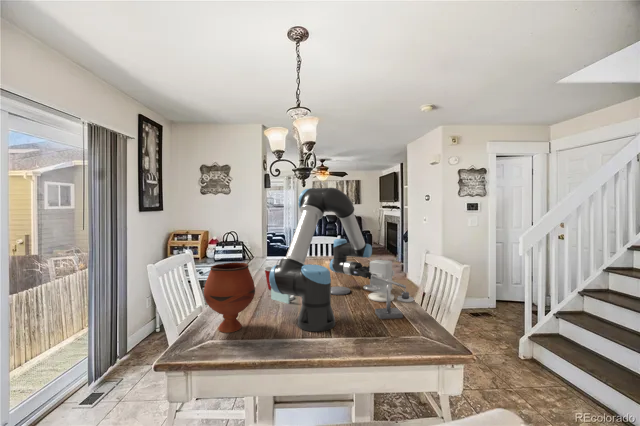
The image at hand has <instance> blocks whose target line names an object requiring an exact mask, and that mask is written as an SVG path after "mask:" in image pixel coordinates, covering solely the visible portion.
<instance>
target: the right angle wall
mask: <svg viewBox="0 0 640 426" xmlns="http://www.w3.org/2000/svg"><path fill="white" fill-rule="evenodd" d="M270 293H271V294H270V298H271V300H273V301H277V302H280V303H285V304H288V305H289V304H290V301H294V300H295V296H294V295H287V294H281V293H277V292H275V291H273V290H272V288H271V290H270Z"/></svg>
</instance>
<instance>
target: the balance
mask: <svg viewBox="0 0 640 426" xmlns="http://www.w3.org/2000/svg"><path fill="white" fill-rule="evenodd" d="M372 277H373V278H376V279H379V280H382V281H385V282H386V302H385V303H386V307H383V308H375V309H374V313H375V315H376V316H377V318H378V319H379V320H386V319H387V320H388V319H390V320H391V319H403V318H404V316H403V314H404V313H403V312H402V311H401V310H400V309H399V308H398V307H392V303H391V302H392V301H391V294H392V293H391V291H392V290H391V284H392V285H394V286H397V287H401V288H403V289H404V291H401V295H398V296H397V297H396V300H397V301H399V302H401V303H413V302H414V299H415V298H414V297H413V296H410V292H409V291H407V289H406V288H407V285H405V284H402V283H400V282H397V281H394V280H392V281H391V279H389V278H388V279H385V278H382V277H379V276H376V275H373V274H372V275H371V284H370V283H369V284H364V285H363V290H365V291H370V292H374V291H377V290H380V286H378V285H372Z"/></svg>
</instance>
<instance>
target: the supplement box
mask: <svg viewBox="0 0 640 426" xmlns="http://www.w3.org/2000/svg"><path fill="white" fill-rule="evenodd" d="M369 266H370V271H369V272H374V273H380V274H383V278H385V279H388V278H389V279H391V281H393V276H392V270H393V261H392V260H384V259H374V260H371V261H369ZM370 284H371V279H369V285H370ZM372 285H378V286H380V290H377V291H373V293H374V292H381V293H386V282H385V281H382V280H379V279H376V278H372ZM392 290H393V284H391V291H392Z"/></svg>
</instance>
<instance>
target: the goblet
mask: <svg viewBox="0 0 640 426" xmlns="http://www.w3.org/2000/svg"><path fill="white" fill-rule="evenodd" d="M209 269H210V270H209V273H208V276H207V278H206V281H205V284H204V288H203V296H204V300H205V302H206V305H207V306H208V307H209V308H211V310H213V311H214V312H215V313H217V314H219V315H222V318H223V319H224V320H223V321H222V322H221V323H220V325H219V326H218V328H217V330H218V331H219V332H222V333H224V334H225V333H234V332H237V331H240V329H242V324H241V322H240V321H239V319H238V317H239V314H240V313H241V312H243V311H244V310H246V309H247V308H248V307H249V305H250V304H251V303H252V302H253V300H254V298H255V295H256V287H255V282H254V279H253V276H252V273H251V271H250V269H249V263H247V262H225V263H217V264H213V265H212V266H211V267H210V268H209Z"/></svg>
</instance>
